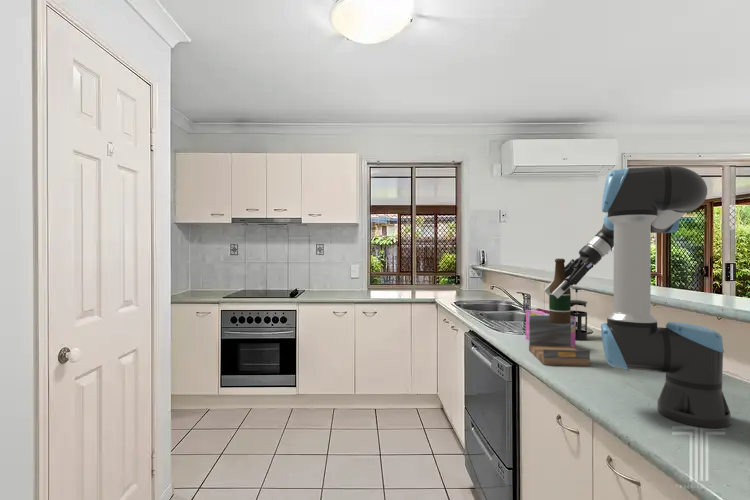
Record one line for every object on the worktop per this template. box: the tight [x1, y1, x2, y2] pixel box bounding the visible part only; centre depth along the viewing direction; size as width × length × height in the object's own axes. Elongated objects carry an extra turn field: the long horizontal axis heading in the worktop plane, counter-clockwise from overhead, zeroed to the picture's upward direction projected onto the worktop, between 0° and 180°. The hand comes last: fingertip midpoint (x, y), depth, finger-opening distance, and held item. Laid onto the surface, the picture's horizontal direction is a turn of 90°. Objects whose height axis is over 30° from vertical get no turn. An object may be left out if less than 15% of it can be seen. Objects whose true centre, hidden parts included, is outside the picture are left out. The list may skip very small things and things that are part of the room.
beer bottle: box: [548, 258, 572, 324], centre depth 160 cm, size 8×8×24 cm
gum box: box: [525, 307, 577, 349], centre depth 185 cm, size 24×8×14 cm, turn 18°
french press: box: [571, 287, 588, 342], centre depth 195 cm, size 12×9×23 cm
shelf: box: [528, 315, 591, 367], centre depth 163 cm, size 20×16×14 cm
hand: (550, 294), depth 161 cm, fingers closed on beer bottle, 7 cm apart
